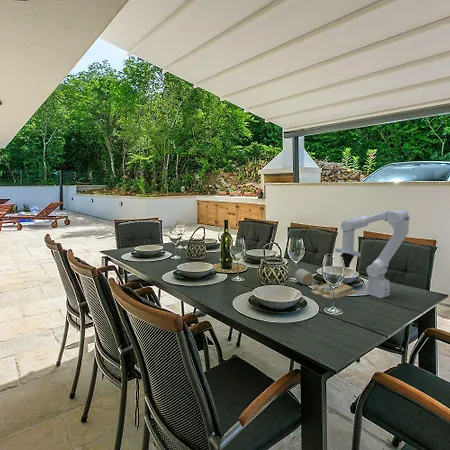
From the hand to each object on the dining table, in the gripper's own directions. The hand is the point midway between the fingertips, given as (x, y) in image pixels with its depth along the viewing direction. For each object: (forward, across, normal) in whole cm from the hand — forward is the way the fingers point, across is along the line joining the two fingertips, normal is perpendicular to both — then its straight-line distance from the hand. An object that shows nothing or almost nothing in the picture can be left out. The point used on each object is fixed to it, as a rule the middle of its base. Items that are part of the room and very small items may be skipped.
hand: (346, 267), depth 177 cm
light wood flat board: (+10, +3, -14) cm, 18 cm away
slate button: (+9, +3, -19) cm, 21 cm away
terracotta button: (+9, +3, -9) cm, 13 cm away
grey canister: (+11, -16, -14) cm, 24 cm away
